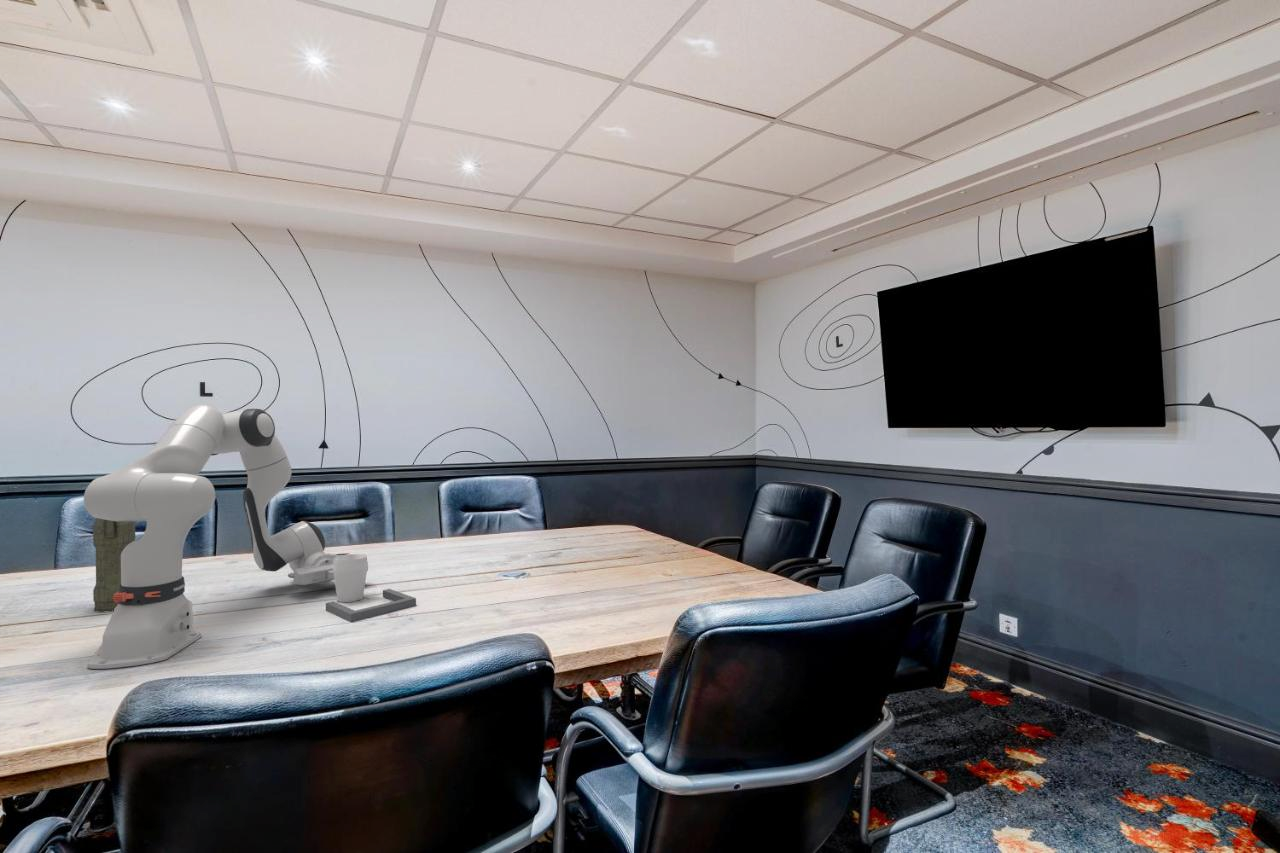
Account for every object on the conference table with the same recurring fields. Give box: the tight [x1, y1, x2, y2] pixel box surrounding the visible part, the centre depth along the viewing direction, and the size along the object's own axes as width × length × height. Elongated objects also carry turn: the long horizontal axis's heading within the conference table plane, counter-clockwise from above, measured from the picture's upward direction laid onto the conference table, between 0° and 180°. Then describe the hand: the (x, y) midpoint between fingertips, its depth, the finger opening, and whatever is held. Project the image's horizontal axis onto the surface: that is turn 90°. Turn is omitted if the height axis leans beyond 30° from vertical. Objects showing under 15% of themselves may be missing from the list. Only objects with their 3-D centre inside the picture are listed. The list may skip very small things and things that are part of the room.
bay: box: [325, 588, 417, 623], centre depth 169 cm, size 14×18×2 cm
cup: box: [333, 553, 369, 603], centre depth 176 cm, size 9×9×12 cm
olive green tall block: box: [92, 518, 136, 612], centre depth 168 cm, size 9×12×35 cm
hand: (343, 575), depth 179 cm, fingers closed, pressing on cup
